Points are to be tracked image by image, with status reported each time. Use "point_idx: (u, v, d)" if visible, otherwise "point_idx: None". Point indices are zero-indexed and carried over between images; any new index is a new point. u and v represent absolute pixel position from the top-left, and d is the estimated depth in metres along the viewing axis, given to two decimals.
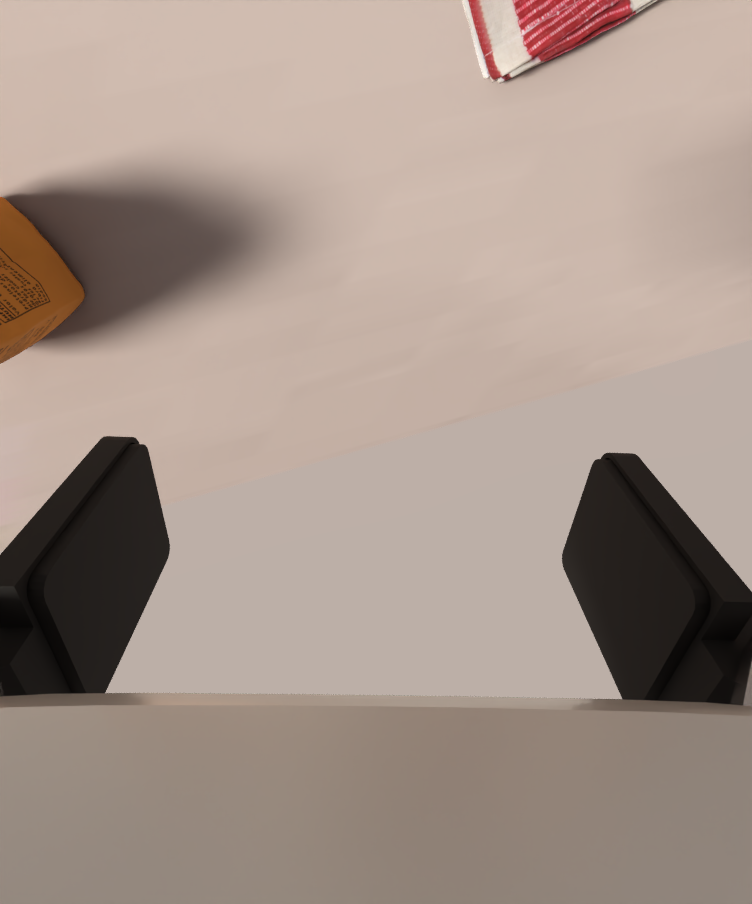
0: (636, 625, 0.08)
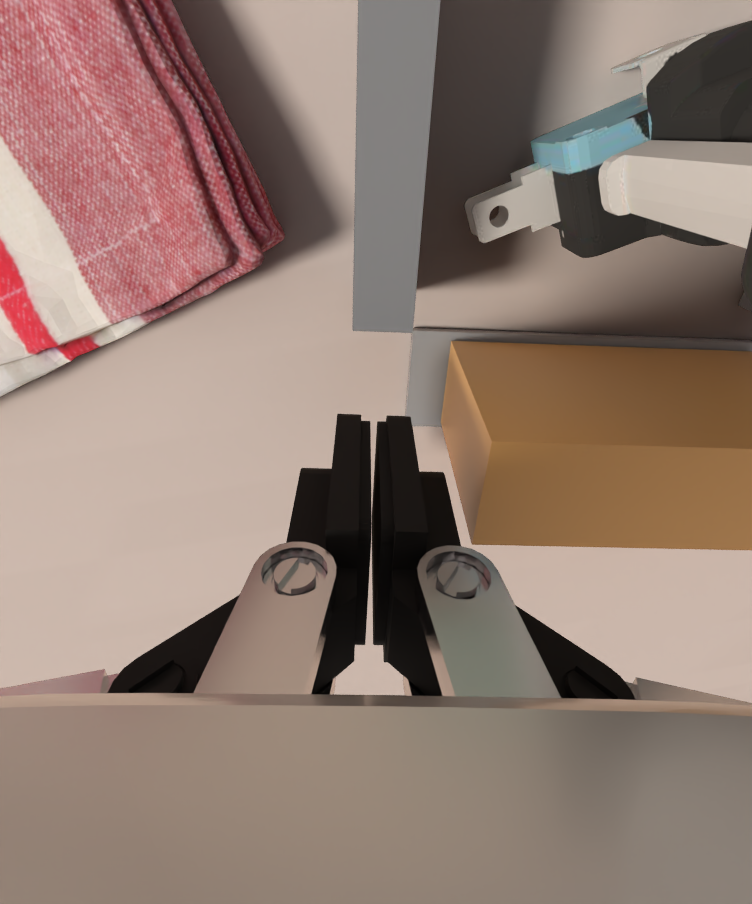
0: (376, 565, 0.09)
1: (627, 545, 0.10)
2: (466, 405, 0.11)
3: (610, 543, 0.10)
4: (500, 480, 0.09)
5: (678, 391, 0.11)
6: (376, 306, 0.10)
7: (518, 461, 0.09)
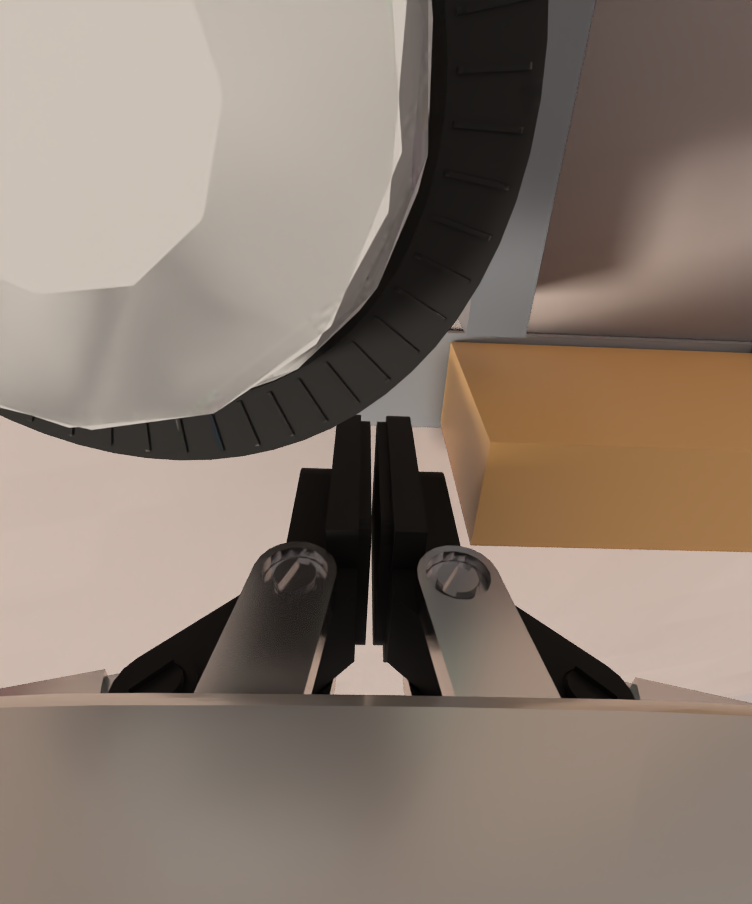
0: (375, 565, 0.09)
1: (626, 548, 0.10)
2: (465, 406, 0.11)
3: (609, 544, 0.10)
4: (498, 481, 0.09)
5: (678, 393, 0.11)
6: None
7: (516, 462, 0.09)
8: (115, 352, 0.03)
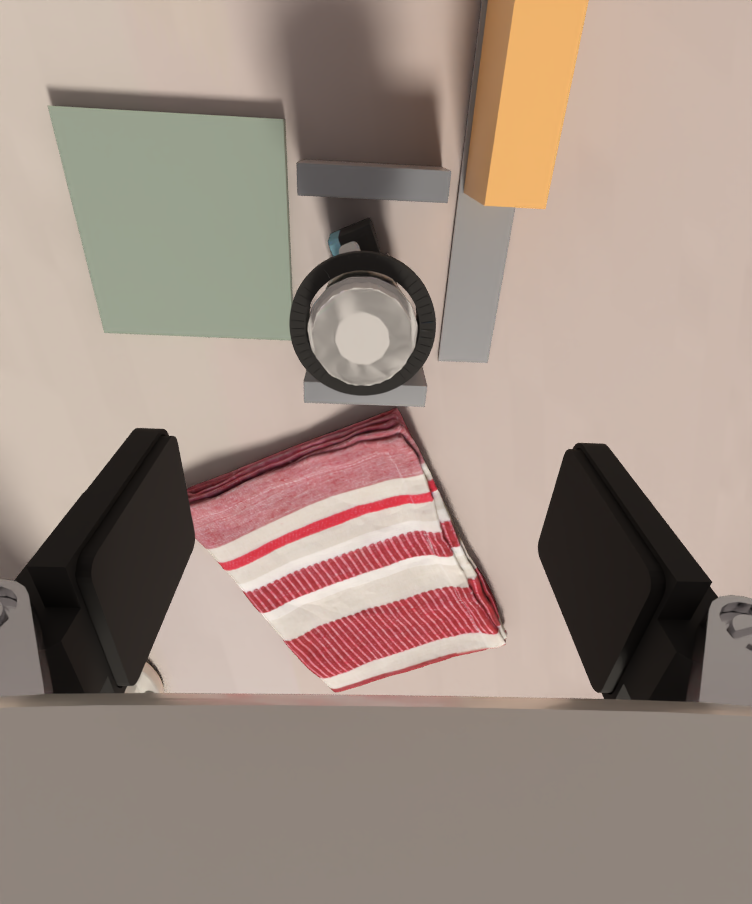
0: (601, 608, 0.09)
1: (564, 111, 0.18)
2: None
3: (559, 124, 0.18)
4: (506, 198, 0.19)
5: (491, 65, 0.19)
6: (416, 398, 0.26)
7: (497, 191, 0.19)
8: (399, 334, 0.17)
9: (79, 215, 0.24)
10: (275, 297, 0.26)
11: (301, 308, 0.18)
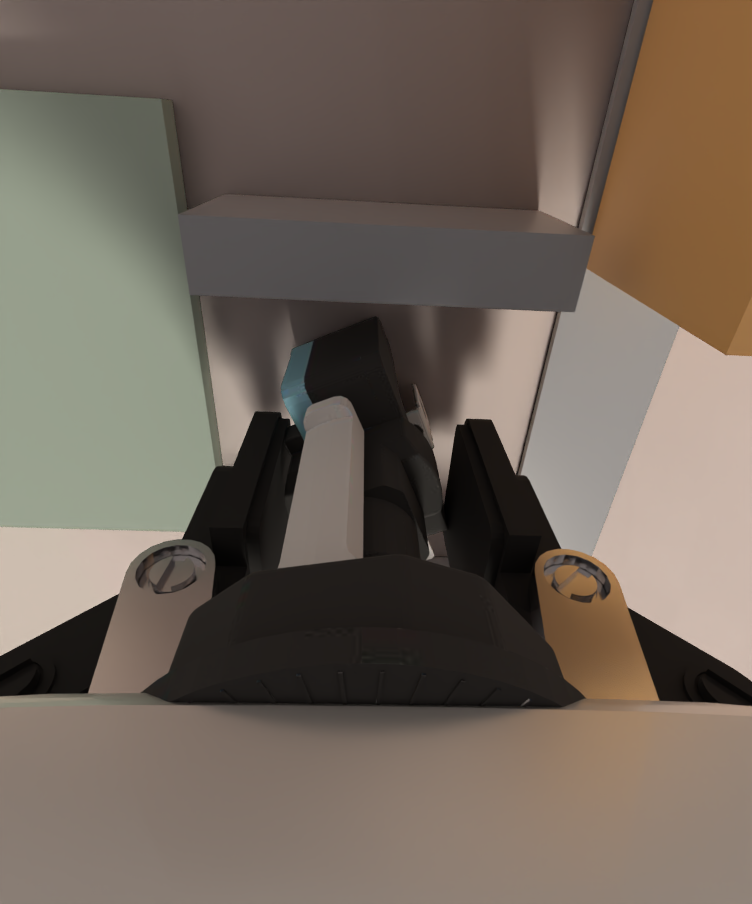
0: (469, 568, 0.09)
1: None
2: None
3: None
4: None
5: None
6: None
7: None
8: None
9: None
10: (184, 465, 0.13)
11: None
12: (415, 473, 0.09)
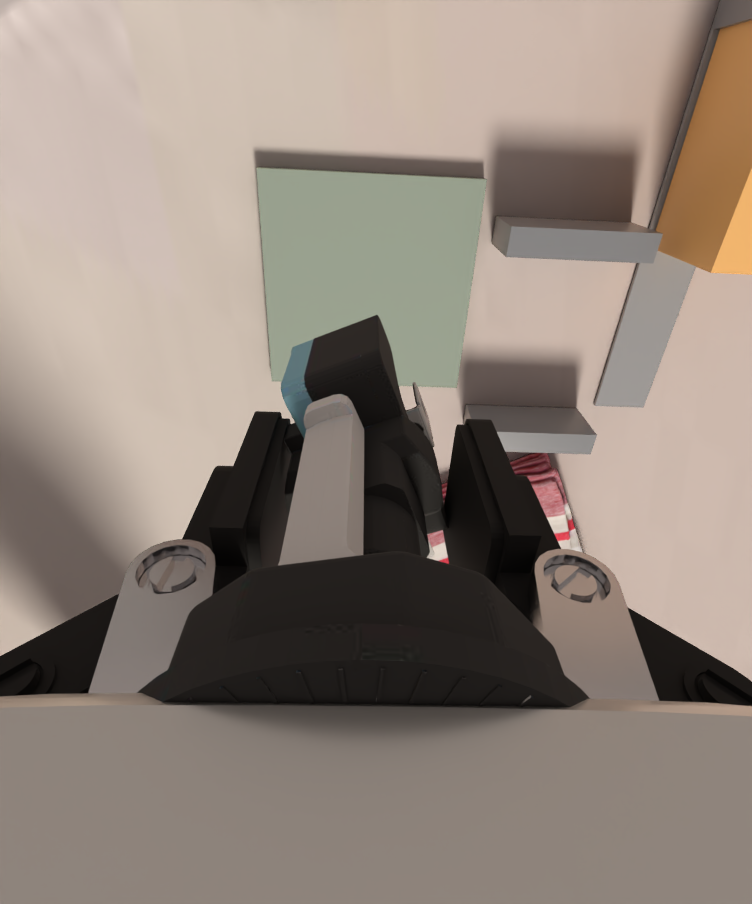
0: (469, 568, 0.09)
1: None
2: None
3: None
4: (734, 265, 0.20)
5: (724, 134, 0.19)
6: (583, 446, 0.27)
7: (726, 258, 0.19)
8: None
9: (268, 270, 0.24)
10: (447, 347, 0.26)
11: None
12: (415, 471, 0.09)
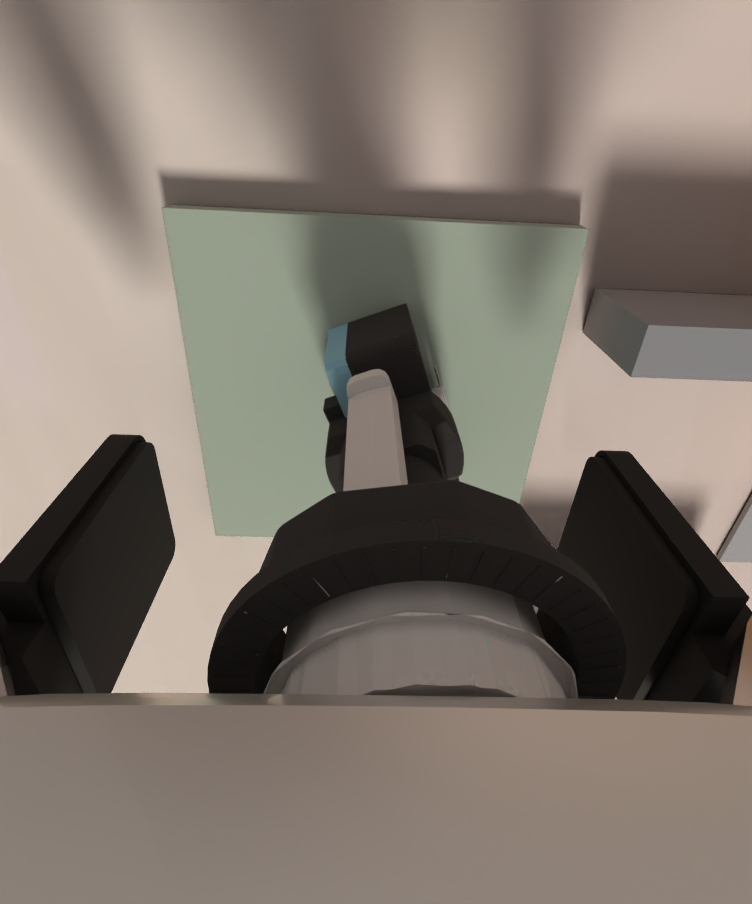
0: (628, 621, 0.09)
1: None
2: None
3: None
4: None
5: None
6: None
7: None
8: None
9: (197, 379, 0.14)
10: (498, 489, 0.16)
11: (241, 654, 0.06)
12: (442, 438, 0.11)
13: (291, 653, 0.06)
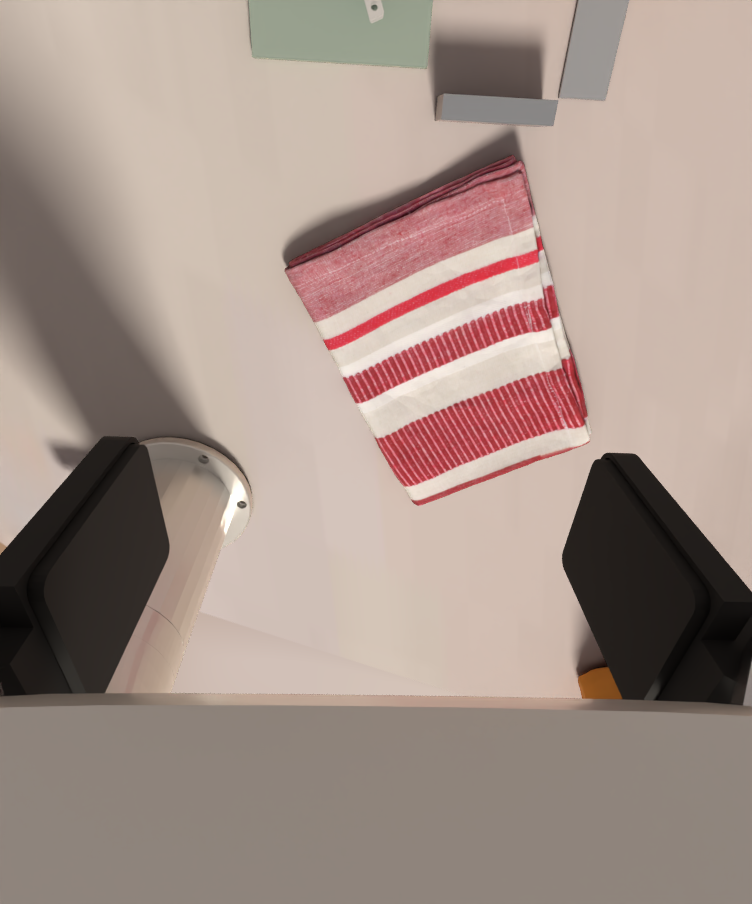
0: (637, 625, 0.08)
1: None
2: None
3: None
4: None
5: None
6: (546, 115, 0.28)
7: None
8: None
9: None
10: (417, 15, 0.28)
11: None
12: None
13: None
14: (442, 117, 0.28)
